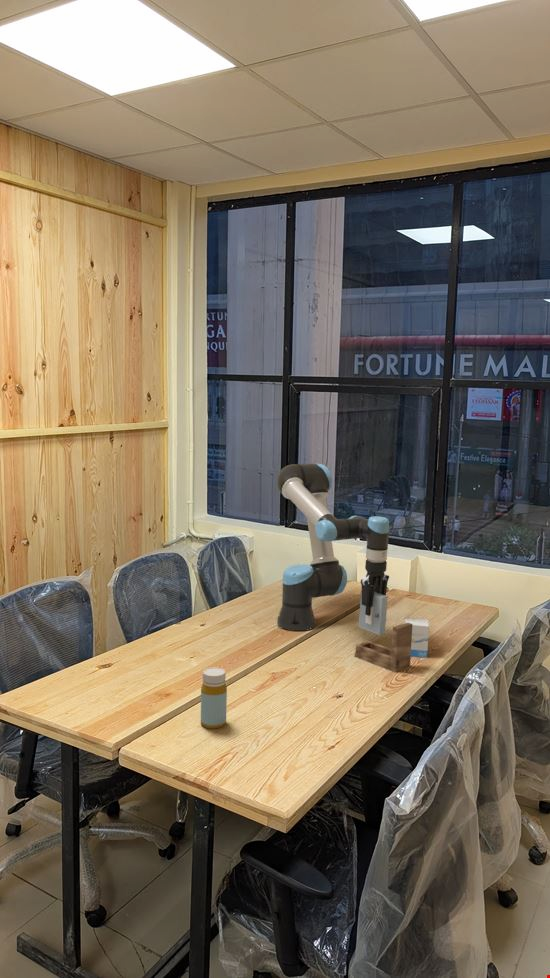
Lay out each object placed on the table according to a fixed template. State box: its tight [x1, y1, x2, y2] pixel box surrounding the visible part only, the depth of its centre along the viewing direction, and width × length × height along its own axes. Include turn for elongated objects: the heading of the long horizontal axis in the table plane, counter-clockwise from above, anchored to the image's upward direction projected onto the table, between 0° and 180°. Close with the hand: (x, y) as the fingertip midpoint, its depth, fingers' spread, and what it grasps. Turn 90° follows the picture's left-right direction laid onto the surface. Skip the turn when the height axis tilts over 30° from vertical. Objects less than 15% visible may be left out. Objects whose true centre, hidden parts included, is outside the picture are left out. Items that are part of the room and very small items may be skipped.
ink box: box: [404, 617, 430, 658], centre depth 253 cm, size 9×8×12 cm
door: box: [358, 590, 388, 636], centre depth 257 cm, size 10×4×14 cm, turn 42°
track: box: [354, 622, 412, 673], centre depth 243 cm, size 18×8×15 cm, turn 42°
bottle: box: [200, 666, 228, 730], centre depth 194 cm, size 7×7×15 cm
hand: (372, 622), depth 258 cm, fingers closed on door, 3 cm apart
